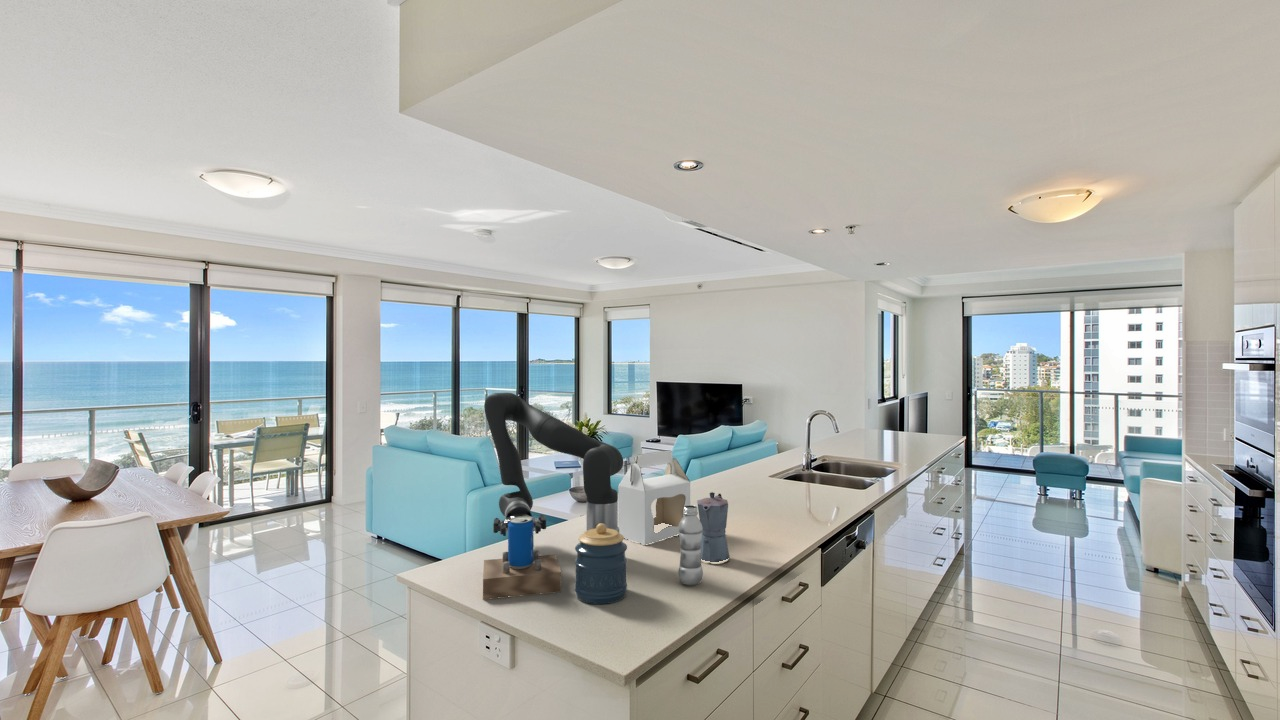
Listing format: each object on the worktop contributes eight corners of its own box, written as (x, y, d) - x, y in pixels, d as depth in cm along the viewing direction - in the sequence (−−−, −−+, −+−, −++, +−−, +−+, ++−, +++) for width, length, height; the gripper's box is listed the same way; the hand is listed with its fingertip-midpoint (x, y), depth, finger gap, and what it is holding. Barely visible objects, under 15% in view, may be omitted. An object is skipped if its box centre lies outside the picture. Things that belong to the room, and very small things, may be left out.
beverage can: (528, 570, 142) (527, 523, 142) (504, 569, 143) (503, 522, 143) (537, 561, 148) (537, 516, 148) (514, 560, 149) (514, 515, 150)
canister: (607, 609, 131) (607, 534, 131) (564, 597, 138) (564, 525, 138) (637, 591, 142) (637, 521, 142) (595, 580, 149) (595, 514, 149)
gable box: (663, 524, 202) (663, 447, 203) (691, 532, 193) (691, 451, 193) (617, 537, 187) (617, 453, 188) (644, 546, 178) (644, 458, 178)
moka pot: (690, 565, 160) (690, 495, 160) (705, 549, 174) (704, 485, 175) (723, 570, 156) (723, 498, 157) (735, 553, 171) (735, 487, 171)
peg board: (555, 572, 155) (555, 545, 155) (561, 591, 141) (561, 561, 141) (483, 578, 150) (484, 550, 150) (482, 599, 136) (483, 568, 136)
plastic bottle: (705, 580, 149) (705, 505, 149) (699, 589, 142) (699, 511, 143) (681, 577, 151) (681, 503, 151) (675, 586, 144) (675, 508, 145)
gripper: (493, 504, 163) (493, 518, 147) (542, 501, 167) (548, 515, 151) (493, 530, 163) (493, 547, 147) (542, 526, 166) (548, 543, 151)
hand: (521, 531), depth 149 cm, fingers open, 8 cm apart
